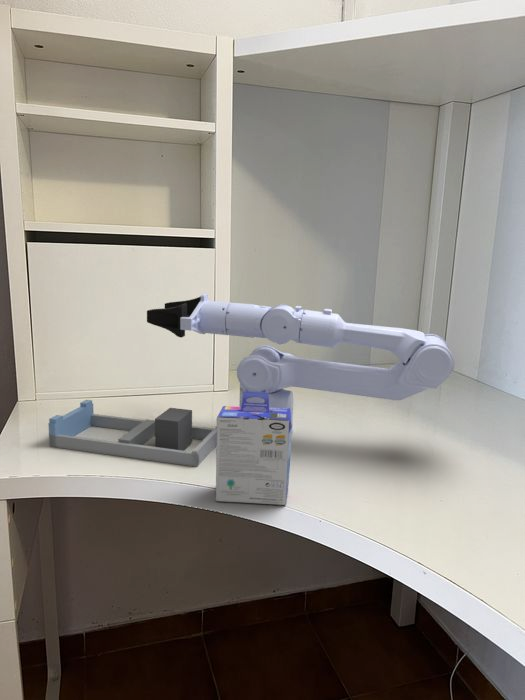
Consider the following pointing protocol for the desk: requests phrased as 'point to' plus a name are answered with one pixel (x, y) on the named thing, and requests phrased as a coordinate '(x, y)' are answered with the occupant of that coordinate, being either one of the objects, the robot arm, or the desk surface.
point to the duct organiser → (124, 437)
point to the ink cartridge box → (253, 452)
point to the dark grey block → (174, 429)
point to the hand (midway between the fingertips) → (156, 312)
